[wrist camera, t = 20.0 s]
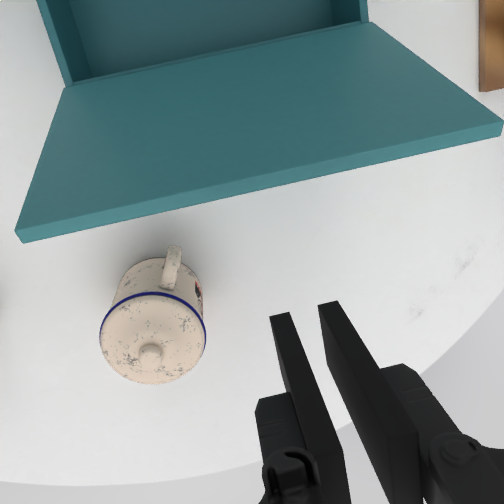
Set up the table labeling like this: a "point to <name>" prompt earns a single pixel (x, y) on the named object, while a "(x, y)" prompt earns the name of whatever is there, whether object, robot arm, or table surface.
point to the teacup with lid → (155, 321)
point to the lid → (241, 127)
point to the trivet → (491, 45)
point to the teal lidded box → (177, 30)
